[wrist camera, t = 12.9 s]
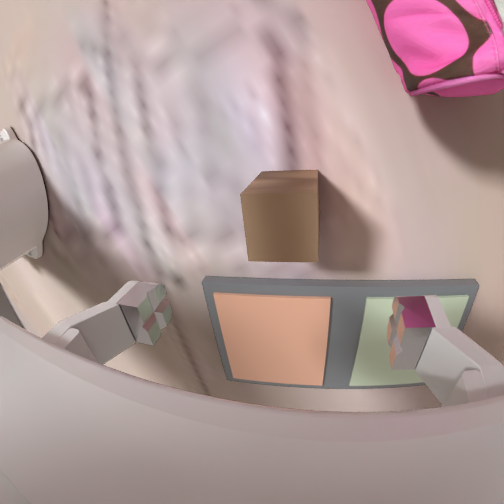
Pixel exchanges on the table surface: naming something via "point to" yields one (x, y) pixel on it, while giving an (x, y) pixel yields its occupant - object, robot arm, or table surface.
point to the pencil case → (444, 44)
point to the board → (319, 328)
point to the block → (282, 216)
